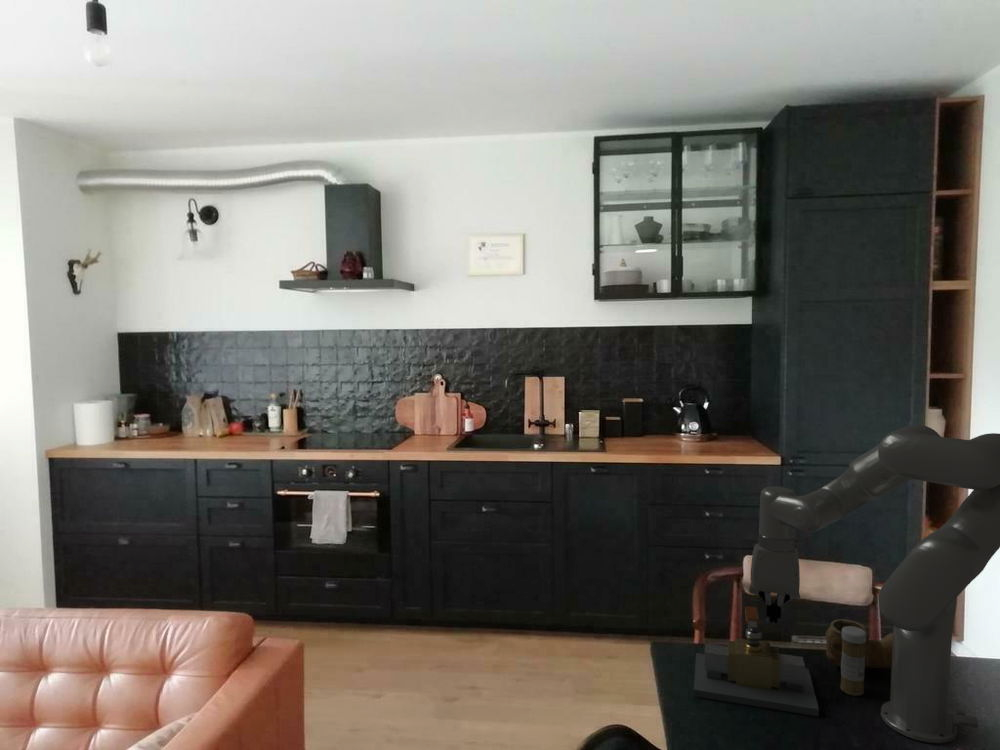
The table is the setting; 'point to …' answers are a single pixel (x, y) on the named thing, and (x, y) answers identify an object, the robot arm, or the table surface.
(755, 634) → the lever
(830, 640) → the pipe
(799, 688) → the valve
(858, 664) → the sprinkles bottle
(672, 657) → the table surface
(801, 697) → the valve board
